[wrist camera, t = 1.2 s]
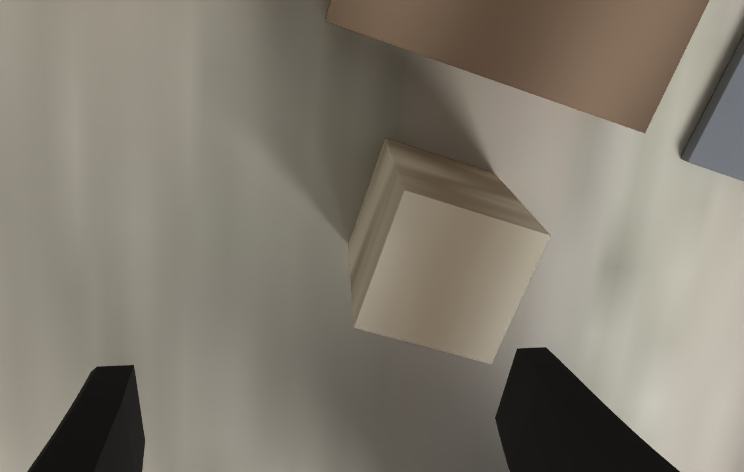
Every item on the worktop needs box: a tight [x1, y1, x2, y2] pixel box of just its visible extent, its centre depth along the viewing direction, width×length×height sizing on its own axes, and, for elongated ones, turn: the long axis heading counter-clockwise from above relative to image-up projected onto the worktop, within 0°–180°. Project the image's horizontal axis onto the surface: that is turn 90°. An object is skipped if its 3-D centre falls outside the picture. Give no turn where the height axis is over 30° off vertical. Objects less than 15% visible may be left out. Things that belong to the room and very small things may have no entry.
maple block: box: [348, 138, 551, 364], centre depth 19 cm, size 4×4×6 cm
